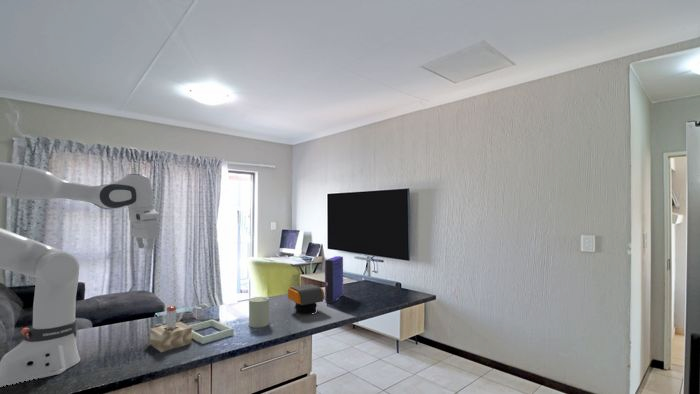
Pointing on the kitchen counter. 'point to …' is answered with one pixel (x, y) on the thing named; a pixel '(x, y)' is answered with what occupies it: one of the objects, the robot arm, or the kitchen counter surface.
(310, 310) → the sander
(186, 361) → the kitchen counter surface
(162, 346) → the block
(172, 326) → the lock pin
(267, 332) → the kitchen counter surface
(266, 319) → the can
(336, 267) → the cereal box
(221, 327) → the tray
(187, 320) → the pulley system
